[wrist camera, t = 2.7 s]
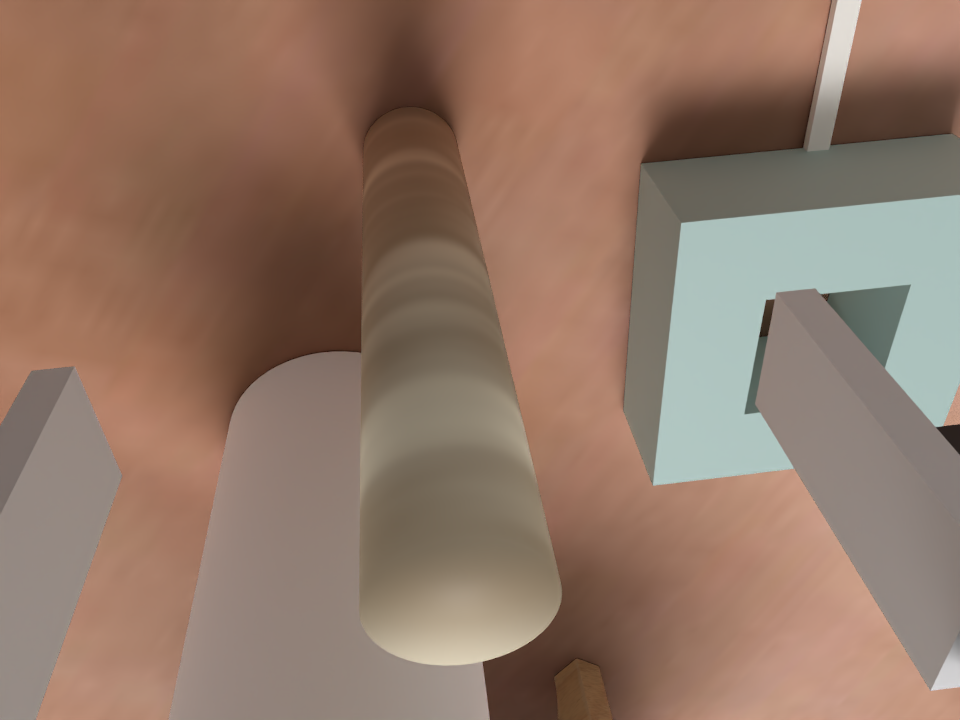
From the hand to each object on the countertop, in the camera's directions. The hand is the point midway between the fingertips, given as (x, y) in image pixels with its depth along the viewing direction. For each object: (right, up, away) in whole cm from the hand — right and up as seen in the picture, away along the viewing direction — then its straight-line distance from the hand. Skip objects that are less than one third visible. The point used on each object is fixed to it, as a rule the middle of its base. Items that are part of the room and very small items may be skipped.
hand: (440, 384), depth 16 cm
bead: (+11, +3, +13) cm, 17 cm away
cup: (-4, -2, +15) cm, 16 cm away
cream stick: (+11, +10, +8) cm, 17 cm away
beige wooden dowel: (-1, +7, +8) cm, 11 cm away
